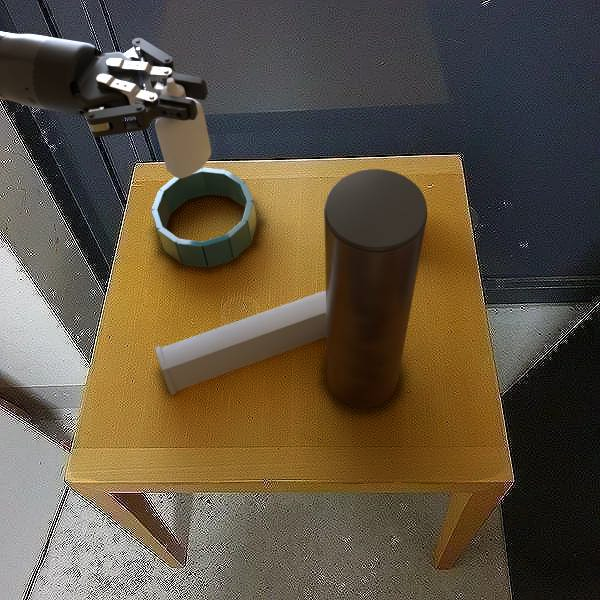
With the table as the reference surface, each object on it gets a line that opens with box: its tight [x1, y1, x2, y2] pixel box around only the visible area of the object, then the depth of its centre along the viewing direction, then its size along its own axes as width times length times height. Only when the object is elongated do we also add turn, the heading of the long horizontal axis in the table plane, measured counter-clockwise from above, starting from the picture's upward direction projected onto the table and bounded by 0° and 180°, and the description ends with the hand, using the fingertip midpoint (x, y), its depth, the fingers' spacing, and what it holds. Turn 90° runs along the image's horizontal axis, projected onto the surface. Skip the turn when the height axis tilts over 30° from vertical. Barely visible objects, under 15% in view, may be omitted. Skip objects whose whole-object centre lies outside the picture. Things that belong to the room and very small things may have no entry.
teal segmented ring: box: [150, 166, 258, 268], centre depth 89 cm, size 13×13×4 cm
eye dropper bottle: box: [154, 78, 212, 178], centre depth 75 cm, size 4×6×12 cm
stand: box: [323, 168, 428, 409], centre depth 66 cm, size 8×8×30 cm
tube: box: [154, 289, 327, 396], centre depth 79 cm, size 5×5×25 cm
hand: (200, 99), depth 71 cm, fingers closed on eye dropper bottle, 2 cm apart
